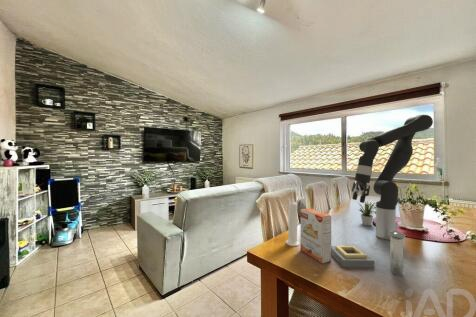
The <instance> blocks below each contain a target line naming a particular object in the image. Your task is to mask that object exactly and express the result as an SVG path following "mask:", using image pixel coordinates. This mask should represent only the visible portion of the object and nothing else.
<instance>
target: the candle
mask: <svg viewBox="0 0 476 317" xmlns="http://www.w3.org/2000/svg"><path fill="white" fill-rule="evenodd" d="M285 243H286V245H288V246H290V247H298V246H300V243H301V242H300V241H298V203H297V202H295V199H294V197H292V198H291V201H290V202H288V239H287V240H286V241H285Z"/></svg>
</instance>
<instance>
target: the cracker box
mask: <svg viewBox="0 0 476 317" xmlns="http://www.w3.org/2000/svg"><path fill="white" fill-rule="evenodd" d="M299 233H300V235H299V238H300V241H299V243H300V244H299V246H300V248H299V249H300V251H301V252H303V253H304V254H306V255H308V256H309V257H311V258H312V259H314V260H316V261H317V262H318V263H320V264H321V265H322V264H326V263H330V262H332V254H331V246H332V215H330V214H327V213H324V212H321V211H318V210H316V209H313V208H309V207H308V208H301V209H300V232H299Z"/></svg>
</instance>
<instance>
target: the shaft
mask: <svg viewBox="0 0 476 317" xmlns="http://www.w3.org/2000/svg"><path fill="white" fill-rule="evenodd" d="M389 235H390V240H389V241H390V242H389V243H390V244H389V247H390V248H389V249H390V250H389V251H390V253H389V254H390V256H389V257H390V258H389V259H390V260H389V262H390V264H389V266H390V267H389V268H390V273H392V274H394V275H395V276H400V277H402V276H403V275H404V239H406V233H403V232H400V231H398V230H397V231H389Z"/></svg>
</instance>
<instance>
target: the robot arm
mask: <svg viewBox="0 0 476 317" xmlns="http://www.w3.org/2000/svg"><path fill="white" fill-rule="evenodd" d="M433 123H434V121H433V118H432V116H430V115H428V114H419V115H414V116H409V117H408V118H407V119H406V120H405V121H404V124H403V125H401V126H399V127H396V128H395V127H394V128H392V129H389V130H386V131H384V132H382V133H380V134H378V135H376V136H372V137H371V138H367V139H366V140H363V141H362V142H360V144H359V146H358V148H359V151H361V152H362V153H363V154H362V155H360V156H359V159H358V164H357V167H356V170H355V175H354V176H355V177H354V182H353V184H352V188H351V193H353V194H352V200H353V201H354V200H355V201H357V200H358V195H359V193H360V198H359V203H361V204H362V203H363V204H365V202H366V197H369V196H370V189H371V185H369V184H370V183H371V177H372V171H373V164H374V159H375V158H376V156H377V154H378V152H379V149H380V148H381V147H384V146H387V145H389V144H391V143H393V142H396V143H395V145H394V147H393V149H392V151H391V153H390V156H389V157H388V160H387V161H386V163H385V165H384V168H383V170H382V171H381V172H380V174H379V175H378V177H377V178H376V179H375V181H374V184H373V191H374V193H375V194H377V195H379V196H380V199H379V201H376V203H375V205H376V206H375V207H376V208H375V211H376V212H375V236H376V237H378V238H380V239H383V240H386V241H387V240H388V241H390V235H389V231H397V232H398V222H397V221H396V220H397V218H396V216H397V214H396V213H397V212H396V211H397V209H396V208H397V205H398V202H399V188H398V185H397V184H396V182H394V181H393V180H394V178H395V176H396V175H397V174H398V173H400V172H401V171H402V170H403V169H404V168H406V166H407V165H408V164H409V162H410V160H411V158H412V156H413V153H414V151H413V149H414V148H413V144H412V142H413V138H414V137H415V134H416V133H419V132H424V131H427V130H428V129H430V128H431V127H432V126H433Z"/></svg>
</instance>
